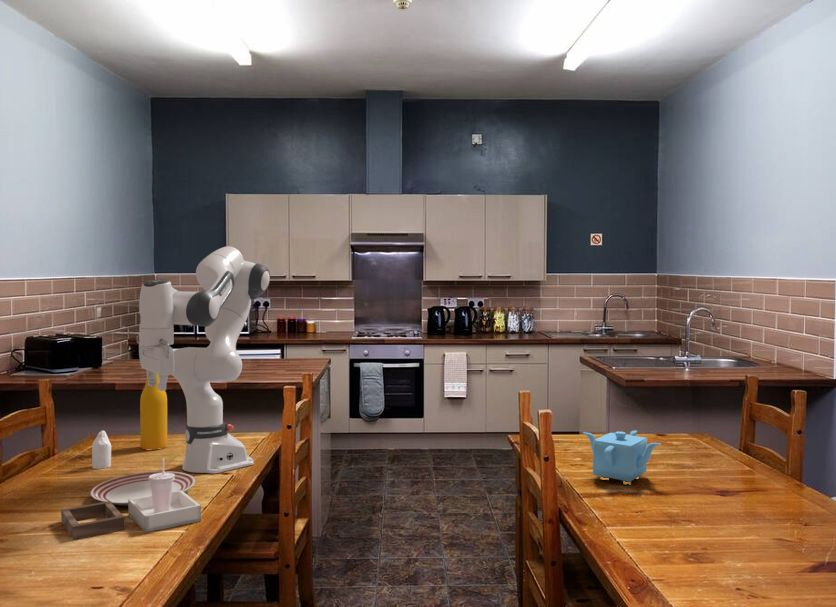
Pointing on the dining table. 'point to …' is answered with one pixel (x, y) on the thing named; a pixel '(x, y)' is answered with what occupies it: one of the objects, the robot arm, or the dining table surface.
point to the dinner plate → (135, 487)
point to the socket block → (94, 527)
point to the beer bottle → (153, 417)
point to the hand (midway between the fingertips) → (157, 388)
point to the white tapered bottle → (101, 451)
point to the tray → (179, 514)
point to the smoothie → (161, 490)
